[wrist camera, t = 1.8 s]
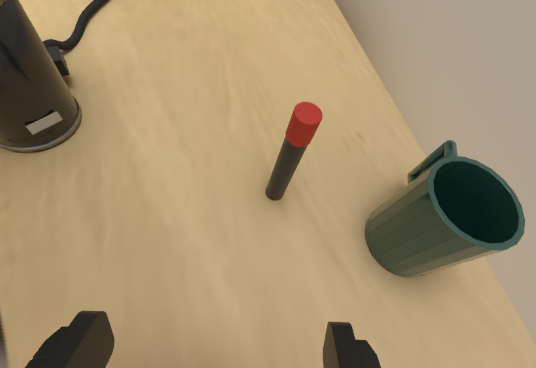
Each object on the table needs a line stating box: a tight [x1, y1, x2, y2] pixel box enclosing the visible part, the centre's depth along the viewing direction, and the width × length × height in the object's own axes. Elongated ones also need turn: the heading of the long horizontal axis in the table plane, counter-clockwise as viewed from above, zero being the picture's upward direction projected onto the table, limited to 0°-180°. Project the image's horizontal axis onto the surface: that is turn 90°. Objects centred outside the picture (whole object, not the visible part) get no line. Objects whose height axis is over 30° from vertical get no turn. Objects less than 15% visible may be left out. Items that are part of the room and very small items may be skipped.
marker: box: [266, 102, 322, 200], centre depth 29 cm, size 2×2×14 cm
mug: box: [366, 140, 525, 277], centre depth 30 cm, size 12×9×12 cm
